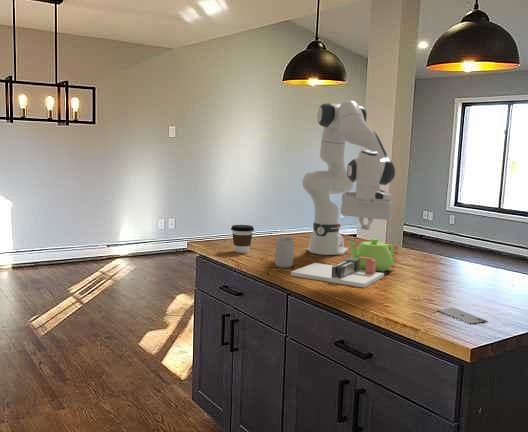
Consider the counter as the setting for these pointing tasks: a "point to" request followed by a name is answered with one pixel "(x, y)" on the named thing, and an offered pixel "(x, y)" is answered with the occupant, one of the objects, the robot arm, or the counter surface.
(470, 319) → the smartphone
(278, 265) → the can
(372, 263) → the lock tab
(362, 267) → the teapot
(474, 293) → the counter surface
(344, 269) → the tongs fixed
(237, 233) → the coffee cup
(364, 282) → the board
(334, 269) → the tongs arm
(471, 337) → the counter surface
